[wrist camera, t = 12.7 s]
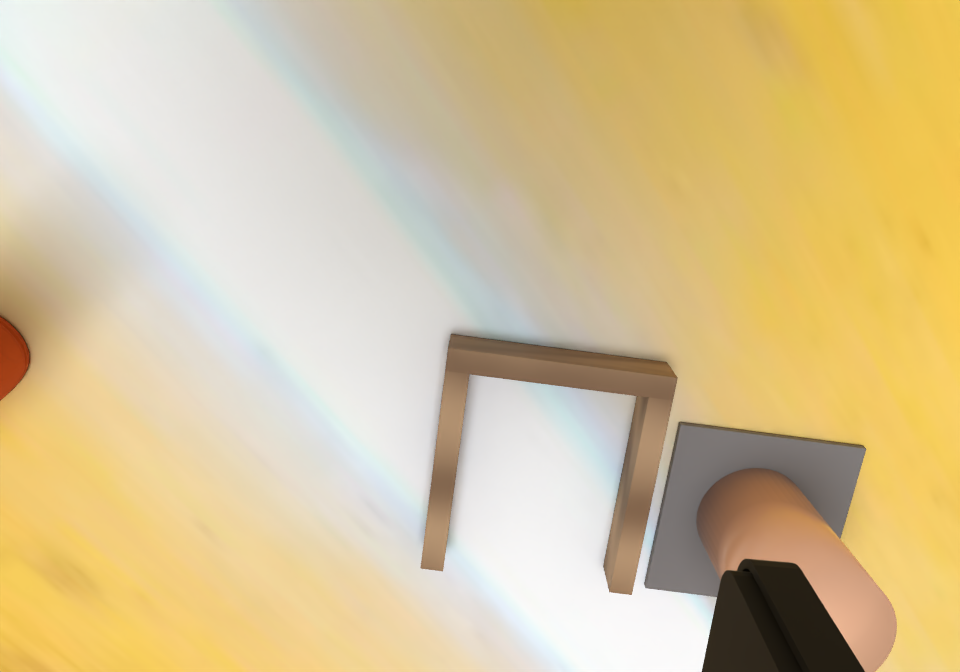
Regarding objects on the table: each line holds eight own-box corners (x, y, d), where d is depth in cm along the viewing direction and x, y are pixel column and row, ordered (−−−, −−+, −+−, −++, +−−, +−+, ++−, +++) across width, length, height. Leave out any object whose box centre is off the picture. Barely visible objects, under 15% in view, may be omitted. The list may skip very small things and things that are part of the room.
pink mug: (709, 461, 42) (772, 564, 33) (818, 475, 43) (913, 581, 33) (677, 597, 45) (728, 731, 35) (781, 610, 45) (860, 747, 35)
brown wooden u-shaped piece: (451, 334, 41) (448, 348, 39) (666, 362, 41) (677, 377, 39) (424, 543, 45) (420, 568, 42) (624, 568, 45) (631, 594, 42)
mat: (679, 421, 42) (680, 424, 42) (862, 445, 42) (866, 448, 42) (644, 583, 45) (645, 588, 45) (816, 605, 45) (819, 609, 45)
